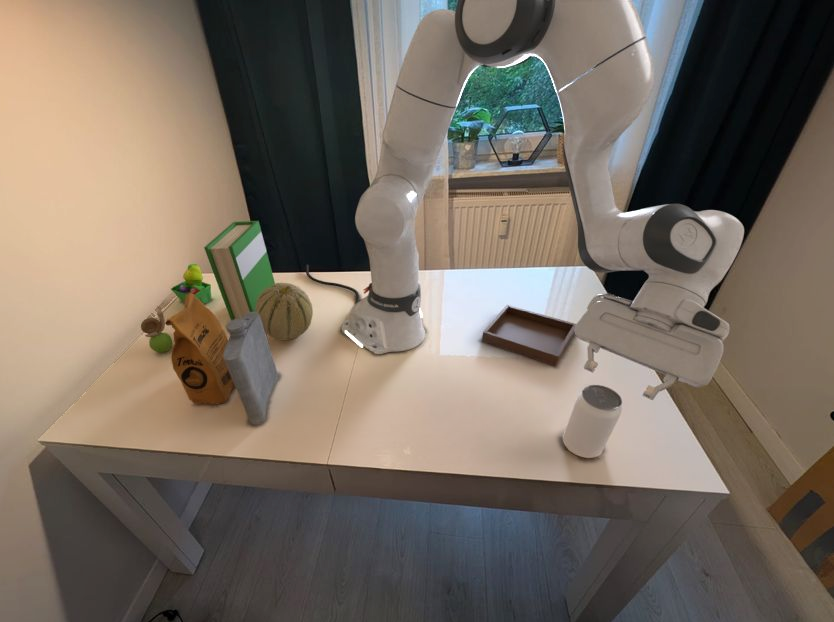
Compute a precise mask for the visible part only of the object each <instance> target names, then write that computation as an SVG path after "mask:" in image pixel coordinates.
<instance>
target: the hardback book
mask: <svg viewBox="0 0 834 622" xmlns="http://www.w3.org/2000/svg"><path fill="white" fill-rule="evenodd" d="M261 228H262V227H261V225H260V221H259V220H244V221H233V222H231V223H230V225H228V226H227V227H226V228H224V230H222V231H221V232H220V233H219V234H218V235H216V236H215V237H214V238H213V239H212V240H210V241H209V242H208V243H207V244H206V245H205V246H204V247H203V248H204V251H205V253H206V256H207V260H208V262H209V264H210V268H211V270H212V272H213V275H214V278H215V281H216V284H217V286H218V289H219V292H220V294H221V295H220V296H221V297H222V300H223V302H224V305H225V308H226V311H227V314H228V316H229V319H230V321H231V320H234V319H242V318H243V317H244V316H245V315H246V314H247V313H249V312H255V311H256V302H257V299H258V297H259V295H260V294H261V293H262V292H263V291H264V290H265V289H266V288H268V287H270V286H271V285H273V284H276V281H275V278H274V274H273V270H272V266H271V262H270V260H269V255H268V252H267V247H266V244H265V240H264V237H263V233H262V229H261Z"/></svg>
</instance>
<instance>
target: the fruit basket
mask: <svg viewBox="0 0 834 622" xmlns="http://www.w3.org/2000/svg"><path fill="white" fill-rule="evenodd" d="M182 278H183V280H184V281H182V282H180V283H178V284H177V285H174V286H172V287H171V288H170V290H171V291H172V292H173V293H174V294H175V296H176V297H177V298H178V299H179V300H180V301H181V302H182V303H185V296H186V295H187V294H189V293H192V294H193V295H194V296H195V297H196V298H197V299H199V300H200V301H201V302H202V303H203V304H204V305H205V304H207V303H209V302H210V301H212V290H211V289H212V284H211V283H208V282H204V281H203V274H202V272H201V267H199V266H198V264H197V263H190V264H188V265H187V270H185V271H184V273H183V277H182Z"/></svg>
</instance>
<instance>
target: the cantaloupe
mask: <svg viewBox="0 0 834 622" xmlns="http://www.w3.org/2000/svg"><path fill="white" fill-rule="evenodd" d="M255 312H258V313H259V315H260V318H261V322H262V325H263V328H264V331H265V334H266V336H269V337H271V338H274V339H276V340H280V341H289V340H290V341H291V340H294V339H297V338H299V337H301V336H302V335H303V334H304V333H306V331H307V330H308V329H309V328H310V326H311V323H312V319H313V315H314V311H313V304H312V301H311V300H310V298H309V296H308V294H307V292H306V291H304V289H302V288H300V286H297V285H295V284H293V283H289V282H275V284H273V285H271V286H270V287H268V288H266V289H265V290H264V291H263V292H262V293H261V294H260V295H259V297H258V299H257V302H256V311H255Z"/></svg>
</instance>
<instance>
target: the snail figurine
mask: <svg viewBox="0 0 834 622" xmlns="http://www.w3.org/2000/svg"><path fill="white" fill-rule="evenodd" d="M157 309H158V311H157V313H156V315H157V317H158V318H155V317H147V318H145V319H144V320H143V321H142V322H141V323H140V329H141V331H142V332H143V333H145V337H146V338H149V341H148V345H149V347H150V349H151V350H152V351H154V352H155V353H158V354H163V353H164V354H165V353H167V352H168V351H170V350H172V348H173V345H174V340H173V339H172V336H170V334H168V333H166V332H163V331H164V330H165V326H166V324H165V323H166V321H165V317H164V311H163V310H162V308H161V307H160V306H159V305H158V306H157Z"/></svg>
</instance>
